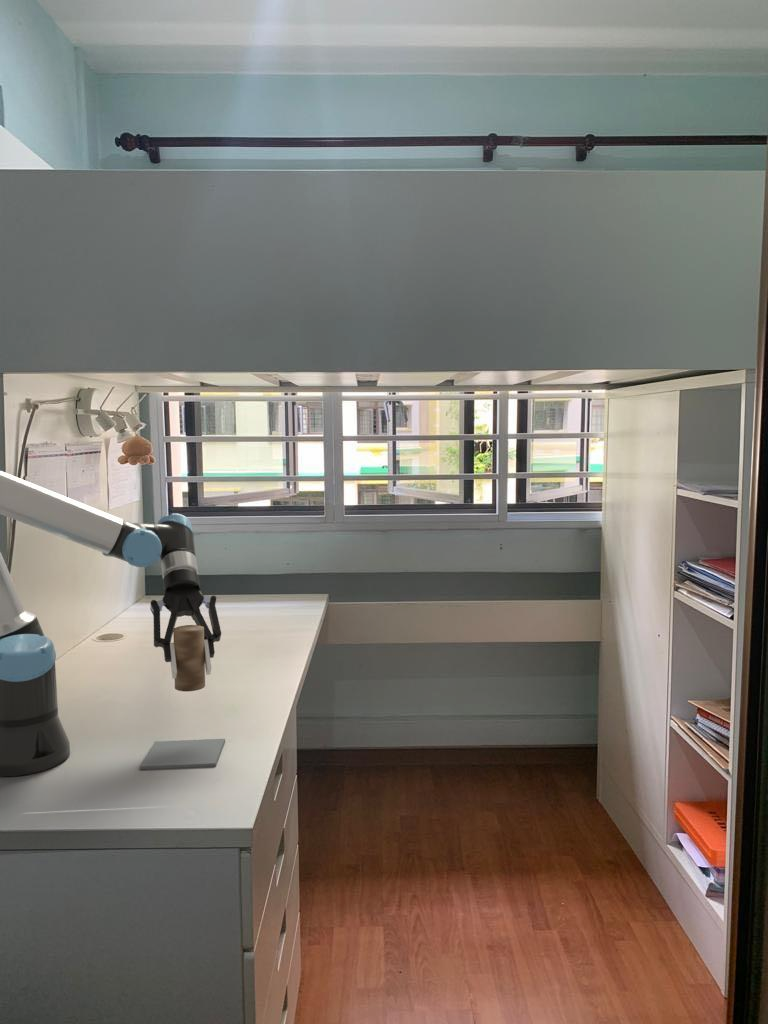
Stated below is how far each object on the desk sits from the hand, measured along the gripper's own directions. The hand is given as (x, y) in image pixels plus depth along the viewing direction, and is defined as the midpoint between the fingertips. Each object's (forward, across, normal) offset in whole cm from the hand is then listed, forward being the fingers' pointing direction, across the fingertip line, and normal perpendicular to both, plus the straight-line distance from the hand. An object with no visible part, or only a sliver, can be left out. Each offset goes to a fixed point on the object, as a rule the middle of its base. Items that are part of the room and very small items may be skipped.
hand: (191, 673), depth 151 cm
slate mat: (+13, +2, -8) cm, 16 cm away
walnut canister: (0, 0, -5) cm, 5 cm away
